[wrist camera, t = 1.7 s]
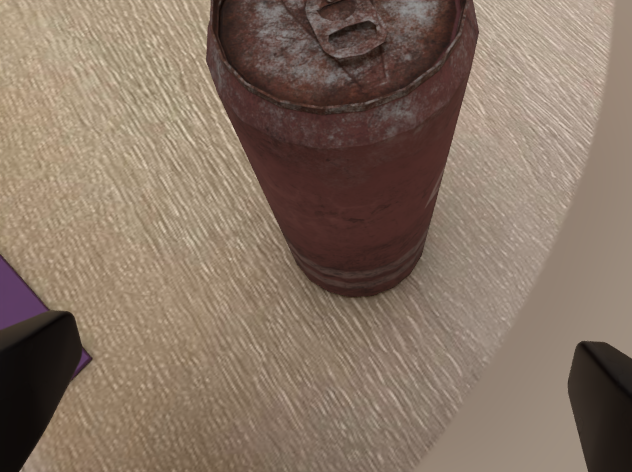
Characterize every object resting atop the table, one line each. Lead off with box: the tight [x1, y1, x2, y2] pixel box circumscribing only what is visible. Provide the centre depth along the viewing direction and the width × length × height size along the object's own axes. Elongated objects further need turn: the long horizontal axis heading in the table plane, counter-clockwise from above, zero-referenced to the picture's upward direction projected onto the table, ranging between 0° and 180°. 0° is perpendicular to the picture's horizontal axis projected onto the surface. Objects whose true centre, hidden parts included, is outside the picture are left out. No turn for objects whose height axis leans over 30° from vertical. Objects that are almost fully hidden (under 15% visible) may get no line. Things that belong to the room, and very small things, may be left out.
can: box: [206, 0, 479, 297], centre depth 17 cm, size 6×6×14 cm
